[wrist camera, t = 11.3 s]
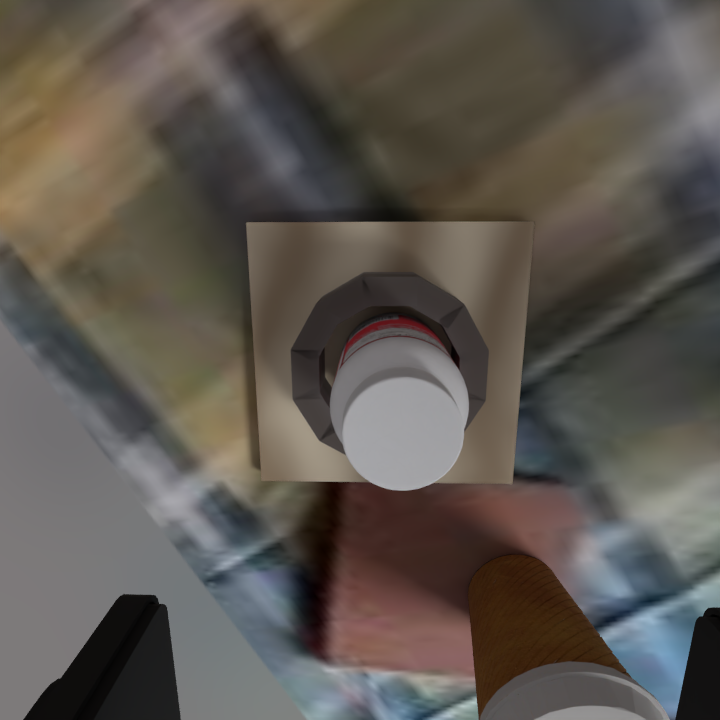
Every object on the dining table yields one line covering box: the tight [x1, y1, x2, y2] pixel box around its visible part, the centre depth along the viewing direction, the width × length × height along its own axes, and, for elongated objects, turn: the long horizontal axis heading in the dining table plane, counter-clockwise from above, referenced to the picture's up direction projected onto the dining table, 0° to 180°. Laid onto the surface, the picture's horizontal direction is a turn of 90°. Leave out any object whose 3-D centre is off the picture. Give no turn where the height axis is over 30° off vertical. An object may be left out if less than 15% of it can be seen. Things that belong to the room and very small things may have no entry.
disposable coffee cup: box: [468, 555, 669, 720], centre depth 28 cm, size 10×10×12 cm
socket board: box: [246, 221, 535, 484], centre depth 28 cm, size 16×16×4 cm
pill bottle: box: [330, 313, 469, 491], centre depth 24 cm, size 6×6×11 cm
